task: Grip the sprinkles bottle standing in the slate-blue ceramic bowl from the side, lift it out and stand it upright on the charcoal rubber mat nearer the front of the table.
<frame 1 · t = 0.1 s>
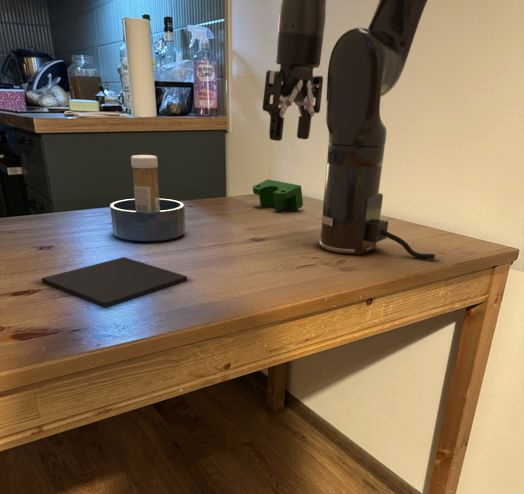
hand: (289, 139, 89), 17 cm above the table, tool pointing down, fingers open, 8 cm apart
clamp: (276, 209, 120), on the table
bowl: (149, 234, 94), on the table
sprinkles bottle: (149, 232, 94), resting on bowl
mat: (116, 281, 70), on the table
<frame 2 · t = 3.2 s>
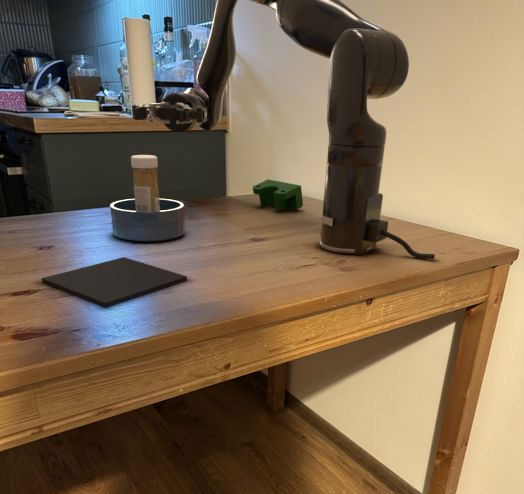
hand: (159, 114, 94), 20 cm above the table, tool horizontal, fingers open, 8 cm apart
nothing on the table moved.
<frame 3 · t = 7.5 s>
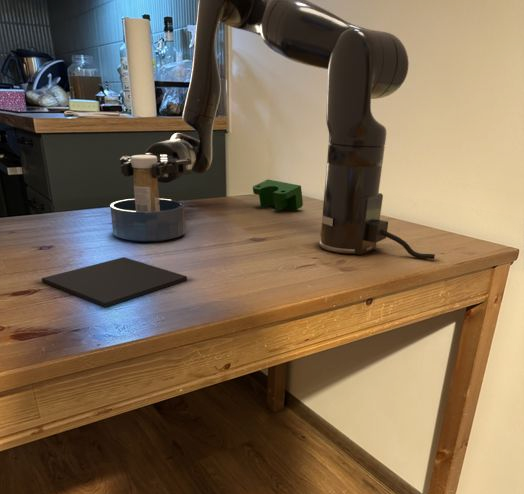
hand: (139, 170, 86), 12 cm above the table, tool horizontal, fingers closed on sprinkles bottle, 4 cm apart
sprinkles bottle: (149, 232, 94), resting on bowl, touching gripper
everything else where it was.
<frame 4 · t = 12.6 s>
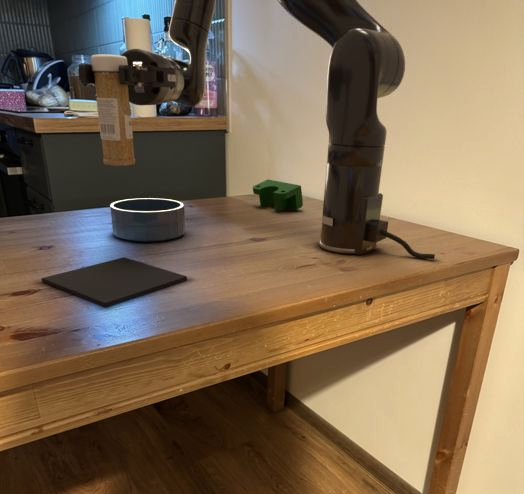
hand: (102, 74, 64), 26 cm above the table, tool horizontal, fingers closed on sprinkles bottle, 4 cm apart
sprinkles bottle: (119, 165, 71), point 14 cm above the table, touching gripper
everything else where it was.
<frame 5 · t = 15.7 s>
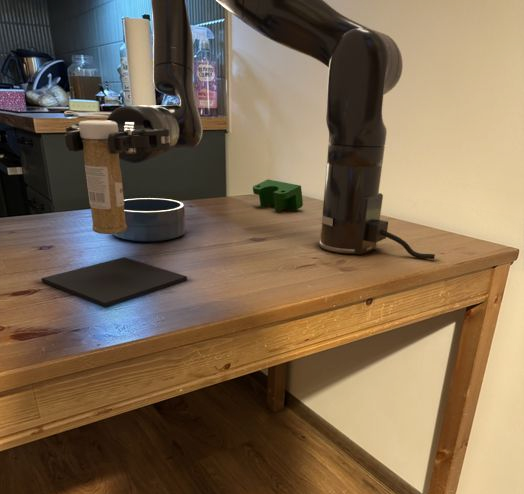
hand: (91, 143, 59), 18 cm above the table, tool horizontal, fingers closed on sprinkles bottle, 4 cm apart
sprinkles bottle: (110, 232, 67), point 7 cm above the table, touching gripper
everything else where it was.
when the fingers open (12 cm above the table, at t = 17.9 s): sprinkles bottle stays where it is, resting on mat.
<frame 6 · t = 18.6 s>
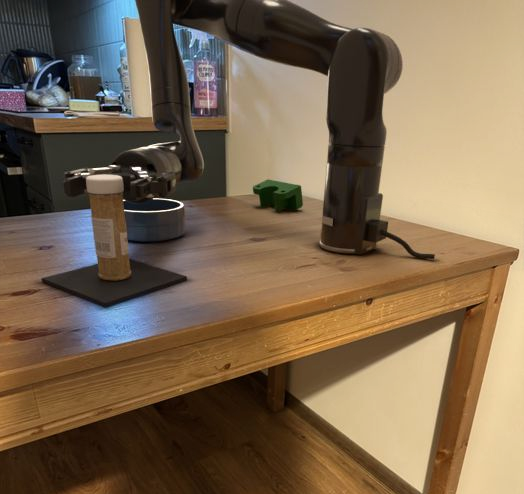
hand: (100, 190, 62), 13 cm above the table, tool horizontal, fingers open, 8 cm apart
sprinkles bottle: (115, 278, 70), resting on mat
everything else where it was.
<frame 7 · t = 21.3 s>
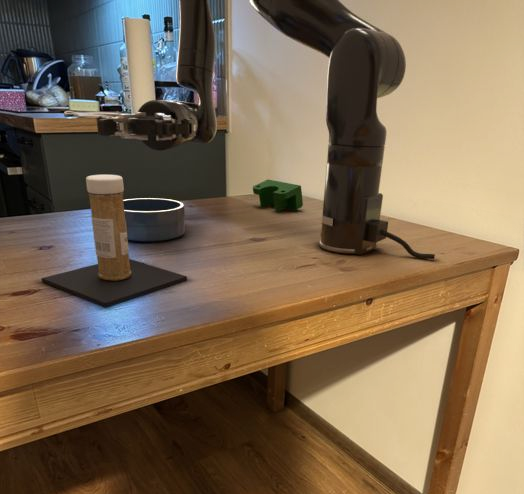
hand: (130, 128, 70), 19 cm above the table, tool horizontal, fingers open, 8 cm apart
nothing on the table moved.
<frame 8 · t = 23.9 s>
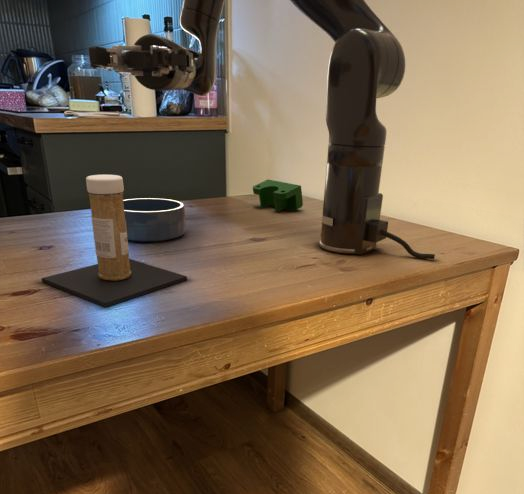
hand: (124, 56, 66), 28 cm above the table, tool horizontal, fingers open, 8 cm apart
nothing on the table moved.
at the end: sprinkles bottle inside the target area on the mat (0.2 cm from its centre), point 0.4 cm above the mat's base; sprinkles bottle tilted 0°; the gripper is holding nothing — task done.
